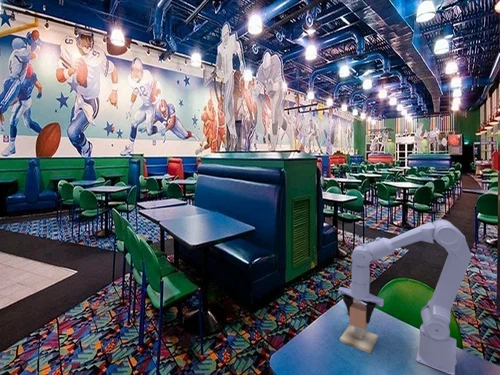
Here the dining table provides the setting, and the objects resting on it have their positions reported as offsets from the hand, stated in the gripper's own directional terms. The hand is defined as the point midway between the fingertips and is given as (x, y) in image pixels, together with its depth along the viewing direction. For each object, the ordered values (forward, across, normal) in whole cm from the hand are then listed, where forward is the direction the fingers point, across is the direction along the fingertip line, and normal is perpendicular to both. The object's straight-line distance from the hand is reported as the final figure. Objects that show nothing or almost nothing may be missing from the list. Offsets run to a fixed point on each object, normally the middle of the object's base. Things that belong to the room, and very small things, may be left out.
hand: (359, 319), depth 90 cm
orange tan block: (+2, 0, 0) cm, 2 cm away
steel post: (+8, 0, 0) cm, 8 cm away
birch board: (+8, 0, 0) cm, 8 cm away
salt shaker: (+8, +6, -15) cm, 18 cm away
